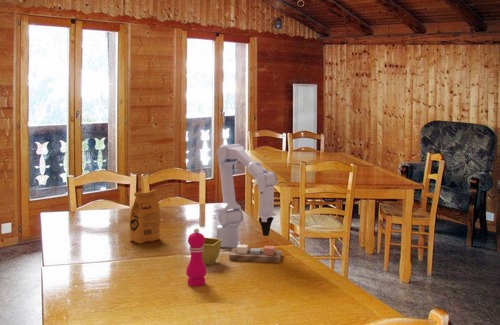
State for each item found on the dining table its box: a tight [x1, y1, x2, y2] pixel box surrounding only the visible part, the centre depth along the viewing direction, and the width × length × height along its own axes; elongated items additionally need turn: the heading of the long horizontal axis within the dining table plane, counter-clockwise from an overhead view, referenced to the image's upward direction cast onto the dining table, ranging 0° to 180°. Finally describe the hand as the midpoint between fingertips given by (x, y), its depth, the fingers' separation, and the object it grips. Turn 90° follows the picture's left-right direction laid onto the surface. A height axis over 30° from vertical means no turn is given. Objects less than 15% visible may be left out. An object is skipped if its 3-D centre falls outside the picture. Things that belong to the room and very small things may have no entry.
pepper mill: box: [185, 228, 208, 287], centre depth 212 cm, size 7×7×20 cm
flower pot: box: [202, 237, 221, 266], centre depth 237 cm, size 9×9×9 cm
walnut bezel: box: [228, 248, 282, 264], centre depth 245 cm, size 20×10×2 cm, turn 83°
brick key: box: [263, 245, 276, 255], centre depth 244 cm, size 4×4×3 cm
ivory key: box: [237, 244, 249, 254], centre depth 245 cm, size 4×4×3 cm
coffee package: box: [129, 189, 161, 244], centre depth 268 cm, size 10×12×22 cm
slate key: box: [250, 247, 262, 255], centre depth 245 cm, size 4×4×3 cm
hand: (265, 235), depth 243 cm, fingers closed
